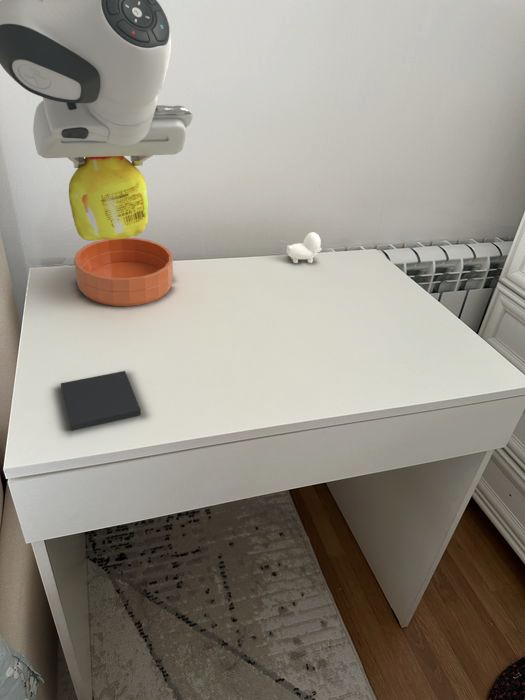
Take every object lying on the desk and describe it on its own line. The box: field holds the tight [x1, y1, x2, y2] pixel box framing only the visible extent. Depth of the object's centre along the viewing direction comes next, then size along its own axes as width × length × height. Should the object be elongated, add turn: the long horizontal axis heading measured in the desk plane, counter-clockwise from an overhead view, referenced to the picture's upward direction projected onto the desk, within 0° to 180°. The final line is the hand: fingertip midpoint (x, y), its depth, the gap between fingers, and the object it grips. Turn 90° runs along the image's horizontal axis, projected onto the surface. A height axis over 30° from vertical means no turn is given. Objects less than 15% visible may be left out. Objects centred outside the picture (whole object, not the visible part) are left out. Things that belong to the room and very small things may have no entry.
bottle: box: [68, 156, 149, 242], centre depth 81 cm, size 12×6×20 cm, turn 115°
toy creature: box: [286, 231, 323, 264], centre depth 114 cm, size 5×8×6 cm, turn 102°
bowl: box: [73, 237, 174, 307], centre depth 99 cm, size 17×17×6 cm
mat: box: [60, 370, 142, 432], centre depth 73 cm, size 9×9×1 cm
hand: (107, 162), depth 80 cm, fingers closed on bottle, 7 cm apart
